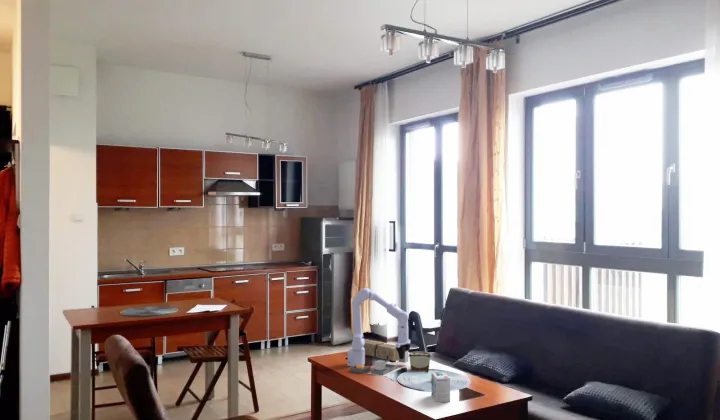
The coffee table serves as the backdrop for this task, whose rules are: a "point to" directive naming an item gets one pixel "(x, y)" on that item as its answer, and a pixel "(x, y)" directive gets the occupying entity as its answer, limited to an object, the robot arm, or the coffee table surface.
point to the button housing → (362, 371)
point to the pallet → (388, 370)
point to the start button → (360, 366)
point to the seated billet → (380, 365)
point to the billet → (404, 357)
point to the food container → (419, 360)
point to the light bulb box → (440, 387)
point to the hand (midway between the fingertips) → (403, 358)
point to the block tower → (381, 350)
